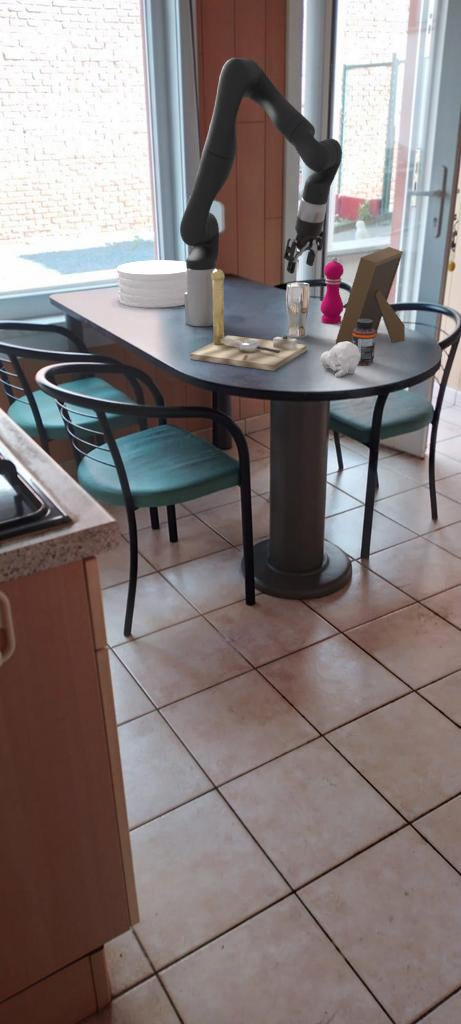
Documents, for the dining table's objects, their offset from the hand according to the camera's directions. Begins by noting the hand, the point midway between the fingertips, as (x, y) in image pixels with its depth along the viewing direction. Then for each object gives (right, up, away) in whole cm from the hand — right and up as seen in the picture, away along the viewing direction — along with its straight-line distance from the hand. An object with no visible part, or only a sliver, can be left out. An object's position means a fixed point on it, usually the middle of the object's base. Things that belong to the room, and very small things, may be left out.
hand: (299, 268), depth 228 cm
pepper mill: (+12, -11, +20) cm, 26 cm away
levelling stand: (-15, -28, -14) cm, 35 cm away
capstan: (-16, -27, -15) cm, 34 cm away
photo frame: (+21, -22, -2) cm, 31 cm away
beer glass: (-1, -19, +5) cm, 19 cm away
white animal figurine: (+7, -36, -29) cm, 47 cm away
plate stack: (-47, +5, +54) cm, 71 cm away
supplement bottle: (+15, -32, -21) cm, 41 cm away
